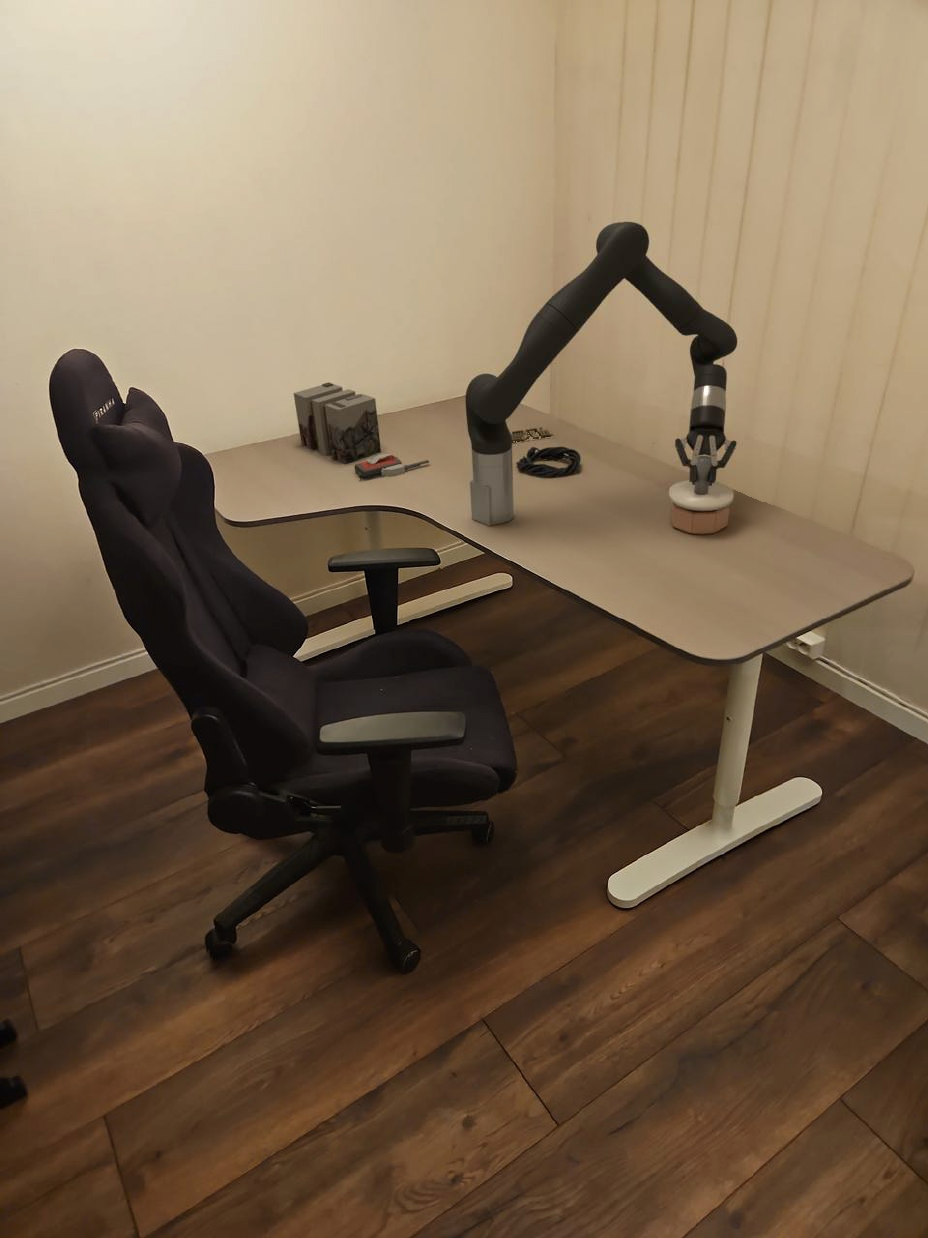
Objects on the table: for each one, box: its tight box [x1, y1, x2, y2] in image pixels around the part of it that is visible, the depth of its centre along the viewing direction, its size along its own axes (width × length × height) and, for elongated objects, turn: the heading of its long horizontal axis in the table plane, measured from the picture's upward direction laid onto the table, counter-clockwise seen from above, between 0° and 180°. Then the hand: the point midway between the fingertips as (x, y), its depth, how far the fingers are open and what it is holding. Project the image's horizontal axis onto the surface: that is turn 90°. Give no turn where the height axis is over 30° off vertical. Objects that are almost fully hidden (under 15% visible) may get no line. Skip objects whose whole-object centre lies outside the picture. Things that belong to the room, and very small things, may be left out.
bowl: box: [669, 501, 730, 535], centre depth 200 cm, size 12×12×5 cm
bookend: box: [293, 382, 382, 466], centre depth 249 cm, size 16×25×16 cm, turn 41°
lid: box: [668, 455, 735, 511], centre depth 195 cm, size 14×14×9 cm
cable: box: [516, 446, 581, 478], centre depth 232 cm, size 17×14×4 cm
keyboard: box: [511, 426, 554, 444], centre depth 253 cm, size 22×9×2 cm, turn 105°
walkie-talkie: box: [353, 452, 430, 481], centre depth 237 cm, size 9×4×20 cm
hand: (702, 483), depth 194 cm, fingers closed on lid, 3 cm apart
